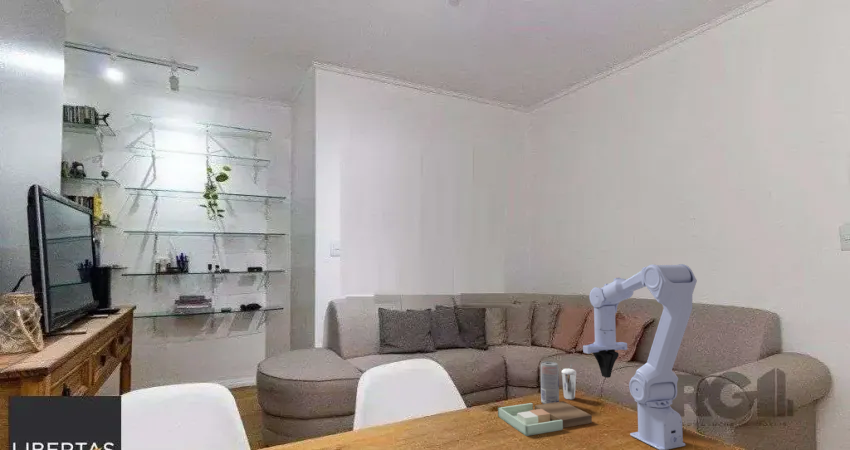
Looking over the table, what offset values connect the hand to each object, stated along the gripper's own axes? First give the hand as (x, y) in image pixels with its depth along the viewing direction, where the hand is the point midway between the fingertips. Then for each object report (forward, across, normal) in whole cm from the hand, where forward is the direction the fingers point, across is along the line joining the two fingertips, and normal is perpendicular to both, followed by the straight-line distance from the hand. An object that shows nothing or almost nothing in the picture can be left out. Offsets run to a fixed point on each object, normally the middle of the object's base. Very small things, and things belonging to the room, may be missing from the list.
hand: (606, 376), depth 126 cm
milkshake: (+11, +1, -15) cm, 18 cm away
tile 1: (+10, +26, -2) cm, 28 cm away
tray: (+10, +25, -2) cm, 27 cm away
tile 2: (+10, +22, -2) cm, 24 cm away
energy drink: (+11, +10, -13) cm, 20 cm away
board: (+10, +14, -2) cm, 18 cm away
